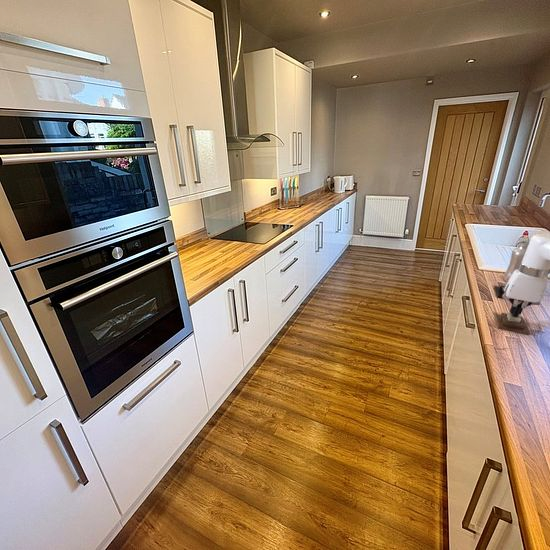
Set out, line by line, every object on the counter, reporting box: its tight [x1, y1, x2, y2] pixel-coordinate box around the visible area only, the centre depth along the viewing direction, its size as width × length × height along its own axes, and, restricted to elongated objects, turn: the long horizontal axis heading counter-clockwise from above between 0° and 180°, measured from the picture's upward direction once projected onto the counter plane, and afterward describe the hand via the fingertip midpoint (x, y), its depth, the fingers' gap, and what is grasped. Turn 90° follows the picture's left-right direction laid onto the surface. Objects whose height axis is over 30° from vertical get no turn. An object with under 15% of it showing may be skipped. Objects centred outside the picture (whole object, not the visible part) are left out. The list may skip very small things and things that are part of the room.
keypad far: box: [493, 284, 521, 303], centre depth 128 cm, size 10×10×3 cm
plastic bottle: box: [502, 241, 530, 283], centre depth 136 cm, size 6×7×20 cm
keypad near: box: [494, 312, 531, 336], centre depth 108 cm, size 9×9×3 cm
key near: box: [506, 312, 521, 323], centre depth 107 cm, size 3×3×2 cm
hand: (514, 314), depth 107 cm, fingers closed
